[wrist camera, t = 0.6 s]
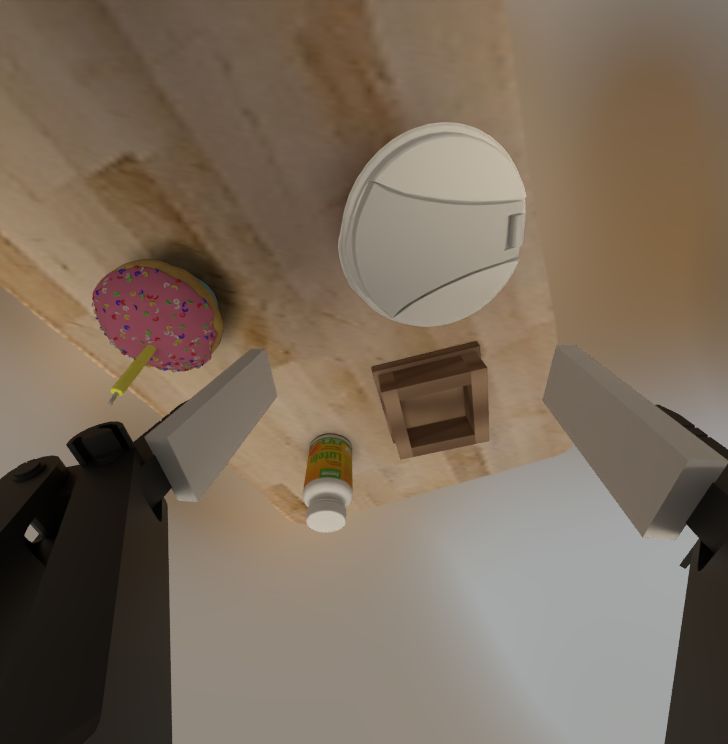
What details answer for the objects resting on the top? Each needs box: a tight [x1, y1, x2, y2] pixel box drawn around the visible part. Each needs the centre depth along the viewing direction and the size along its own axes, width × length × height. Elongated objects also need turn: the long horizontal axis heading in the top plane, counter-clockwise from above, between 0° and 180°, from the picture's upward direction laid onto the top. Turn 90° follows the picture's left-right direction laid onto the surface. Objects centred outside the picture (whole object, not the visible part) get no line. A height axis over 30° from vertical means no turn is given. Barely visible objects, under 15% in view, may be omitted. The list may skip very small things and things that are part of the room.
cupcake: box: [92, 259, 224, 405], centre depth 21 cm, size 9×8×12 cm
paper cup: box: [338, 122, 527, 327], centre depth 17 cm, size 8×8×14 cm
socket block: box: [372, 341, 489, 460], centre depth 31 cm, size 11×11×4 cm
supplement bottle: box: [303, 434, 352, 532], centre depth 33 cm, size 5×5×10 cm
